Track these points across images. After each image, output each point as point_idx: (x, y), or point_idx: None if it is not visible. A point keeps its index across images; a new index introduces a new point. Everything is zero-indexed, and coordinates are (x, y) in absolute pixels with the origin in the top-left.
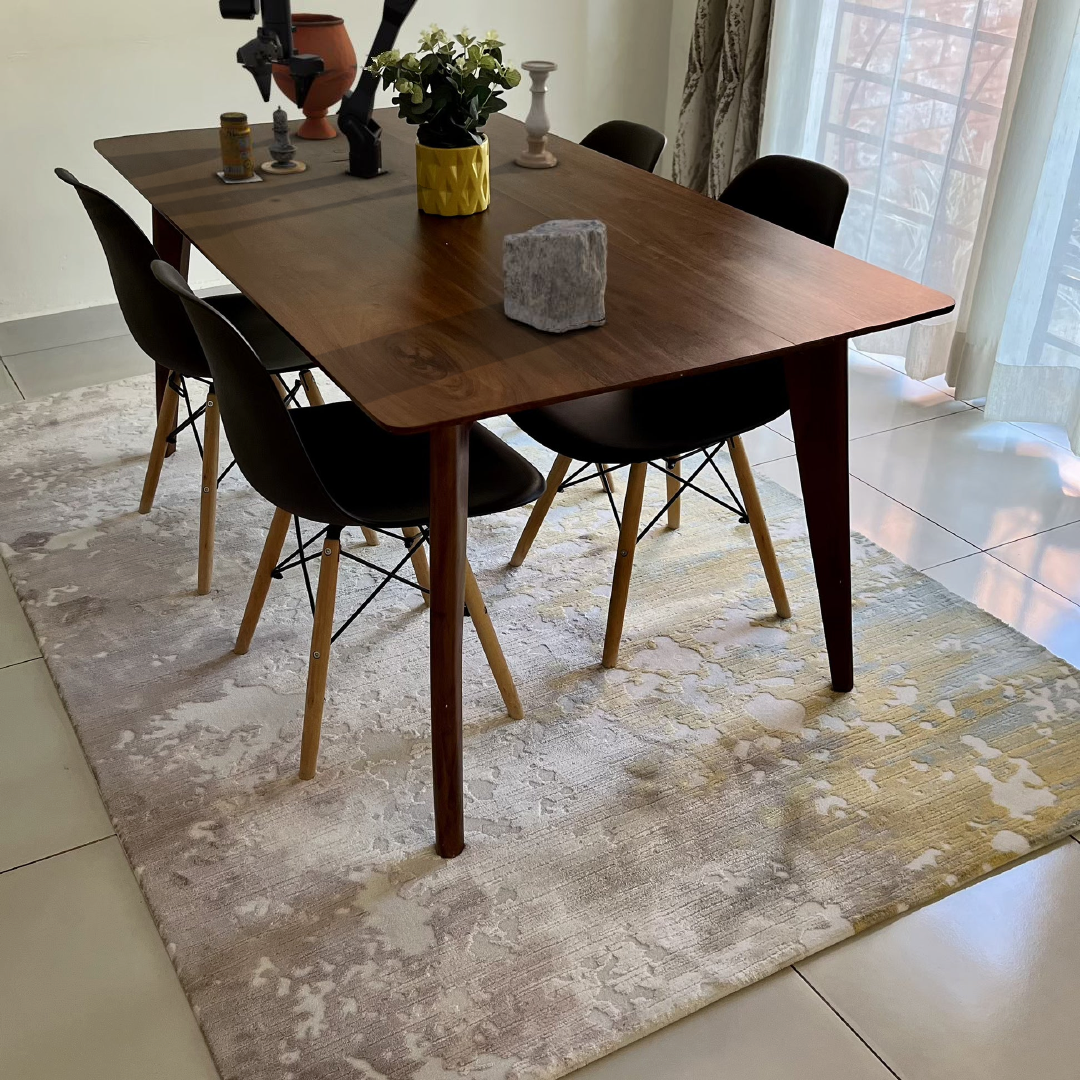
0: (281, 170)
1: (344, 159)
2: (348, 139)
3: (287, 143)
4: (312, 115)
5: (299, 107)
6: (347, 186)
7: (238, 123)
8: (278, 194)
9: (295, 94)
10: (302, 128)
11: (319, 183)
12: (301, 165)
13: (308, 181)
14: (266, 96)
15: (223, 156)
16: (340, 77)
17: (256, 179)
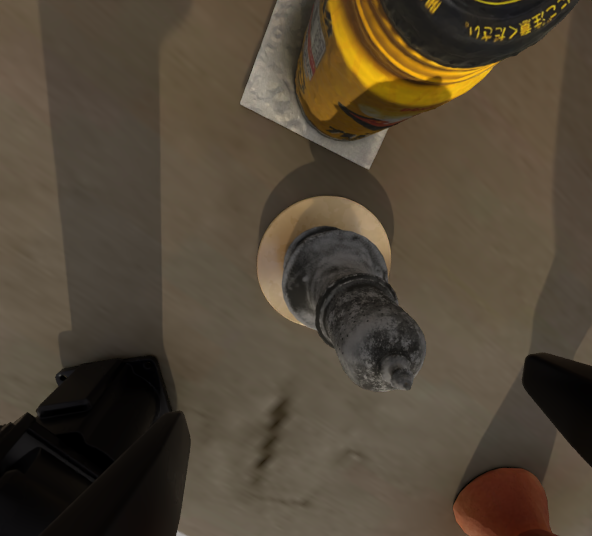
0: (284, 224)
1: (283, 433)
2: (9, 431)
3: (310, 294)
4: None
5: (159, 424)
6: (18, 276)
7: None
8: (48, 18)
9: (102, 525)
10: (527, 491)
11: (102, 233)
12: None
13: (145, 223)
14: (564, 394)
15: None
16: None
17: (263, 95)
